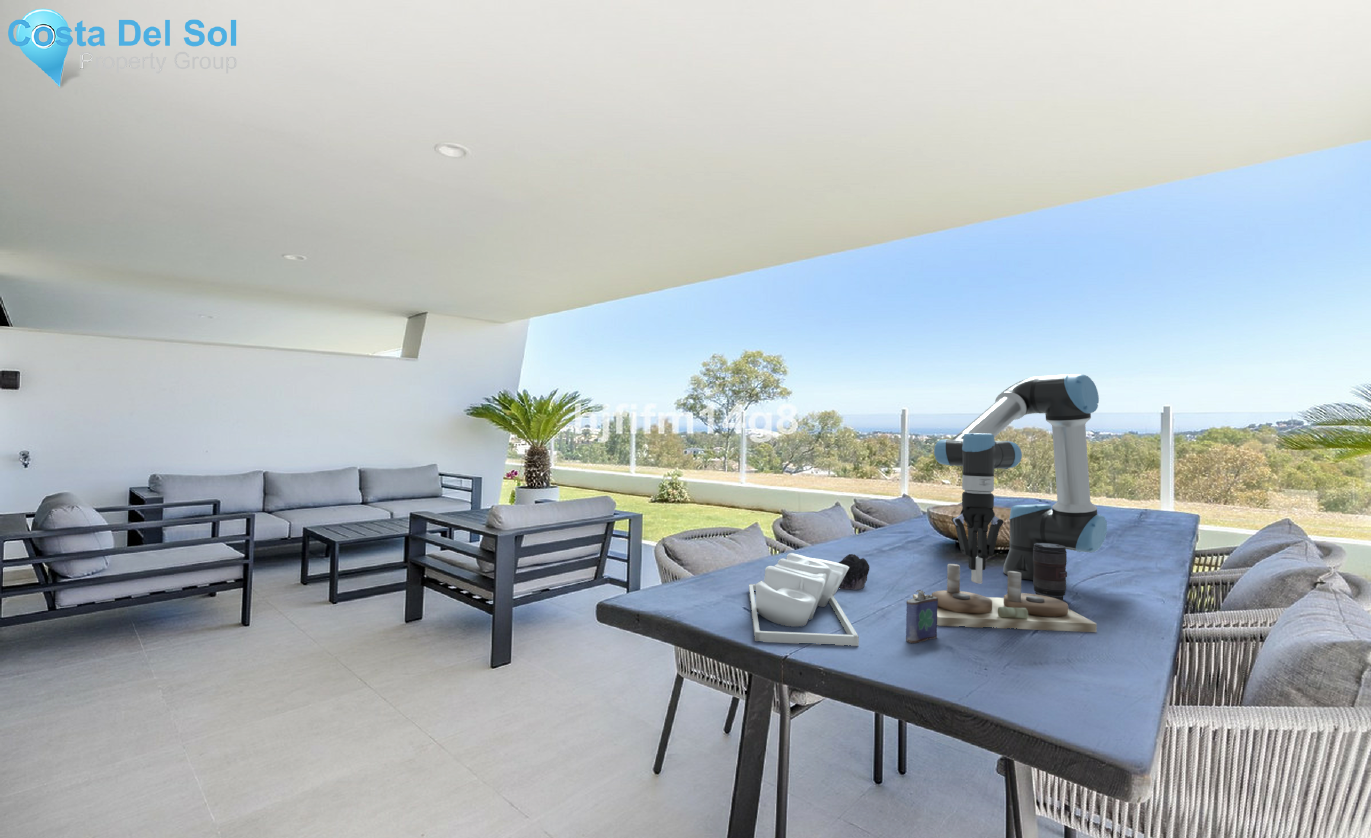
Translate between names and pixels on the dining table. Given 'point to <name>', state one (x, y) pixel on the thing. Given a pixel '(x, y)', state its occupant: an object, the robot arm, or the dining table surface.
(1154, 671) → the dining table surface
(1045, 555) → the camera lens
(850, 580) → the crystal cluster
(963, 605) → the dial
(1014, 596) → the dial
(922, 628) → the flask
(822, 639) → the white rectangular frame
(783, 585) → the wavy white extrusion
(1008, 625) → the base
